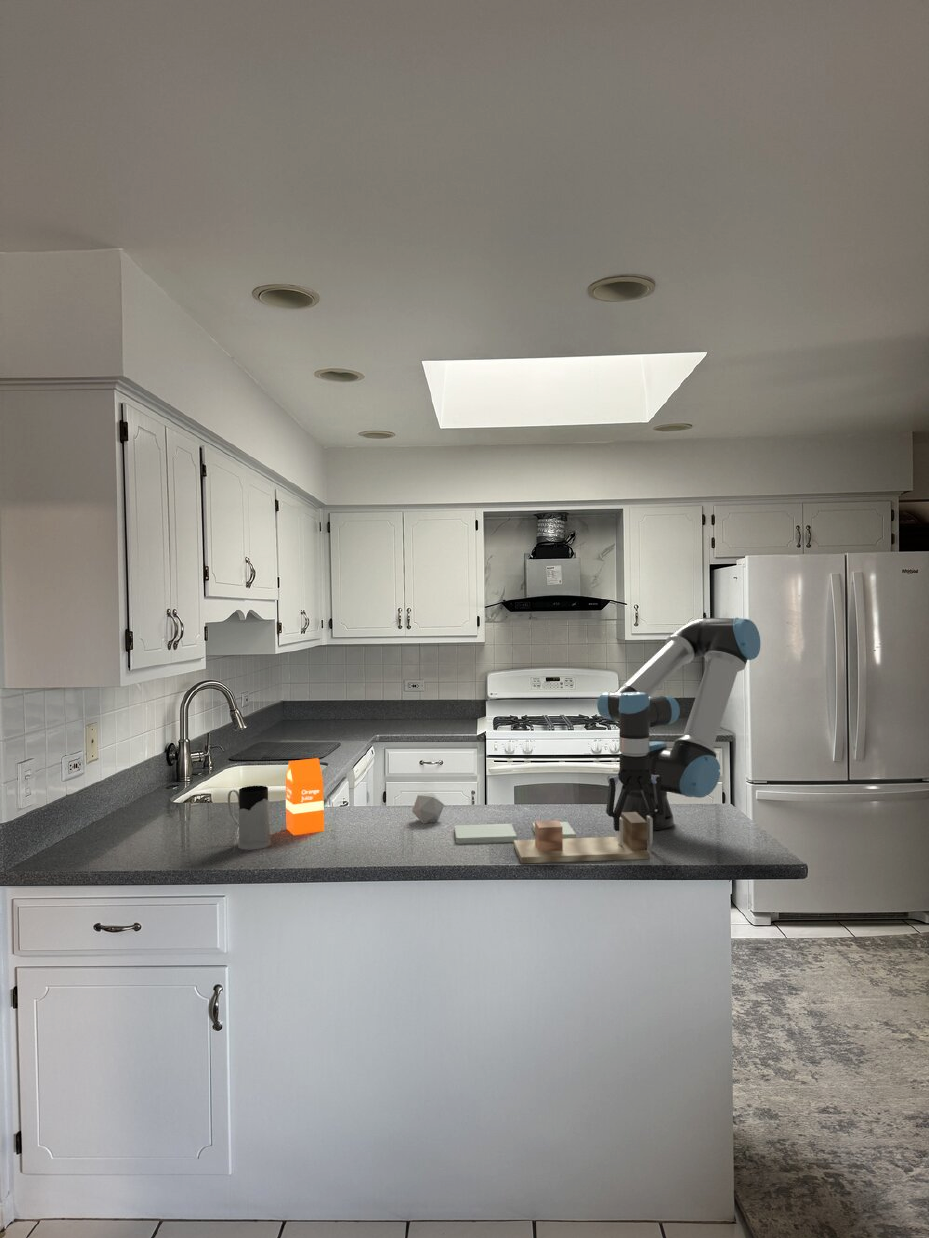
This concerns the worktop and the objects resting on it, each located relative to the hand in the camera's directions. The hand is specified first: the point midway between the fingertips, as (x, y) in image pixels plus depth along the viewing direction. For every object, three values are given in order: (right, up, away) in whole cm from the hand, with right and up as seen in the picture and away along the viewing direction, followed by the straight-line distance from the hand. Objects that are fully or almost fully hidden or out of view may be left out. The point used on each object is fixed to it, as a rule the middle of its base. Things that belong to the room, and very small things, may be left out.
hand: (634, 842), depth 209 cm
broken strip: (-30, -2, +15) cm, 34 cm away
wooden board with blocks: (-14, -2, -1) cm, 14 cm away
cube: (-22, -1, -2) cm, 22 cm away
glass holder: (-102, -3, +11) cm, 103 cm away
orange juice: (-89, -3, +23) cm, 92 cm away
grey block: (-54, -2, +30) cm, 62 cm away
